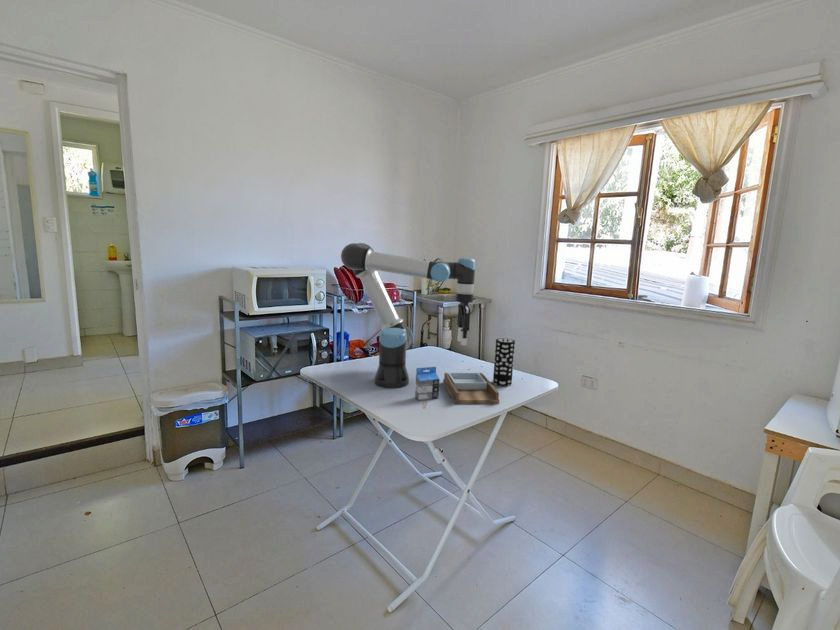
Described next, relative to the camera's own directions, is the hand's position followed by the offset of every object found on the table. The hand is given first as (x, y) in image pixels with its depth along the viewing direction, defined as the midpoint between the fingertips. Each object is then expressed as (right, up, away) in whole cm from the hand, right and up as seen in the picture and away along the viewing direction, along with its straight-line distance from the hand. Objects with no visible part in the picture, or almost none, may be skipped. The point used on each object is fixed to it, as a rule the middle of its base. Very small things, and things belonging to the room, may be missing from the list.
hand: (462, 343), depth 187 cm
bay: (+2, -20, -15) cm, 25 cm away
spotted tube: (+18, -18, -2) cm, 26 cm away
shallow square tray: (+1, -17, -10) cm, 20 cm away
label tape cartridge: (-17, -21, -23) cm, 35 cm away
